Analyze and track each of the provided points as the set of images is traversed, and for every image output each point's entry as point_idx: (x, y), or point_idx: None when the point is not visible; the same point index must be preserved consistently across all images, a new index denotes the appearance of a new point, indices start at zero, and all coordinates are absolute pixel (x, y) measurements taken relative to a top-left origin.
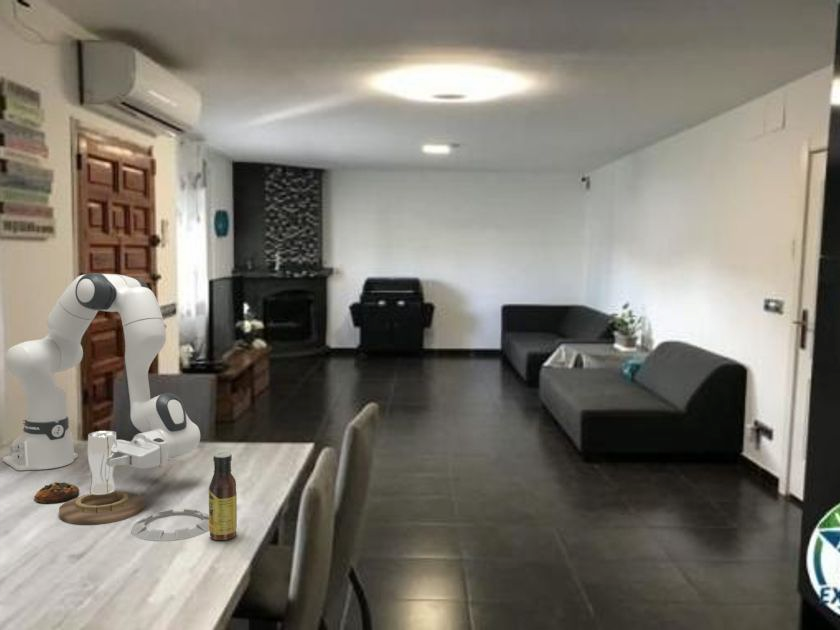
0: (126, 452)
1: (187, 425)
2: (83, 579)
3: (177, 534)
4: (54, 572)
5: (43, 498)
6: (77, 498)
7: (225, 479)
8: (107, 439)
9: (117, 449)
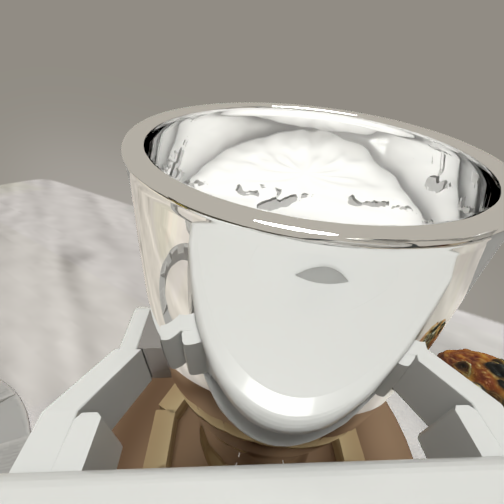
0: (69, 481)
1: None
2: (6, 230)
3: None
4: (72, 225)
5: (441, 352)
6: (387, 420)
7: None
8: (153, 160)
9: (299, 487)
